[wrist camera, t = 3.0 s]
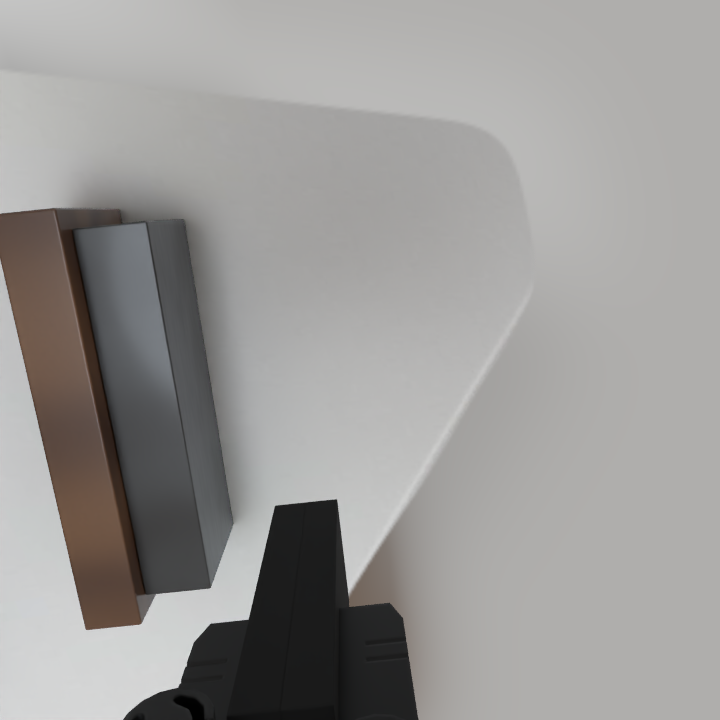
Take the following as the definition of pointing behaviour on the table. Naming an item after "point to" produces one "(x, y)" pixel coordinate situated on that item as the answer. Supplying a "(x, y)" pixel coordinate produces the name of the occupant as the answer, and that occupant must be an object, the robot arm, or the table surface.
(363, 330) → the table surface
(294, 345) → the table surface
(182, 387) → the two-tone stacked slabs
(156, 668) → the table surface
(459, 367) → the table surface
